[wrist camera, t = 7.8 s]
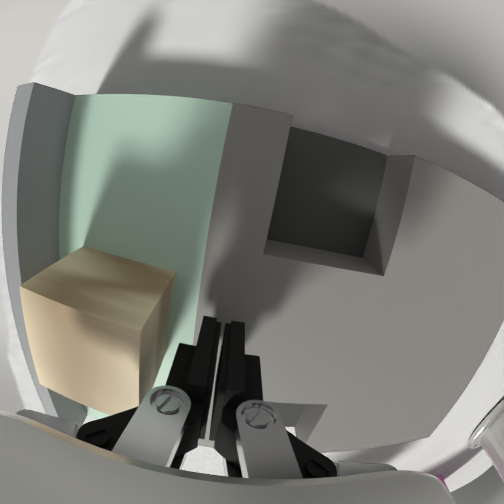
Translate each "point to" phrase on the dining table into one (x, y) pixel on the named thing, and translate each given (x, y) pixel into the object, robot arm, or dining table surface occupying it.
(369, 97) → the dining table surface
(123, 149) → the board
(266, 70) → the dining table surface
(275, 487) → the robot arm
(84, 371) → the block
